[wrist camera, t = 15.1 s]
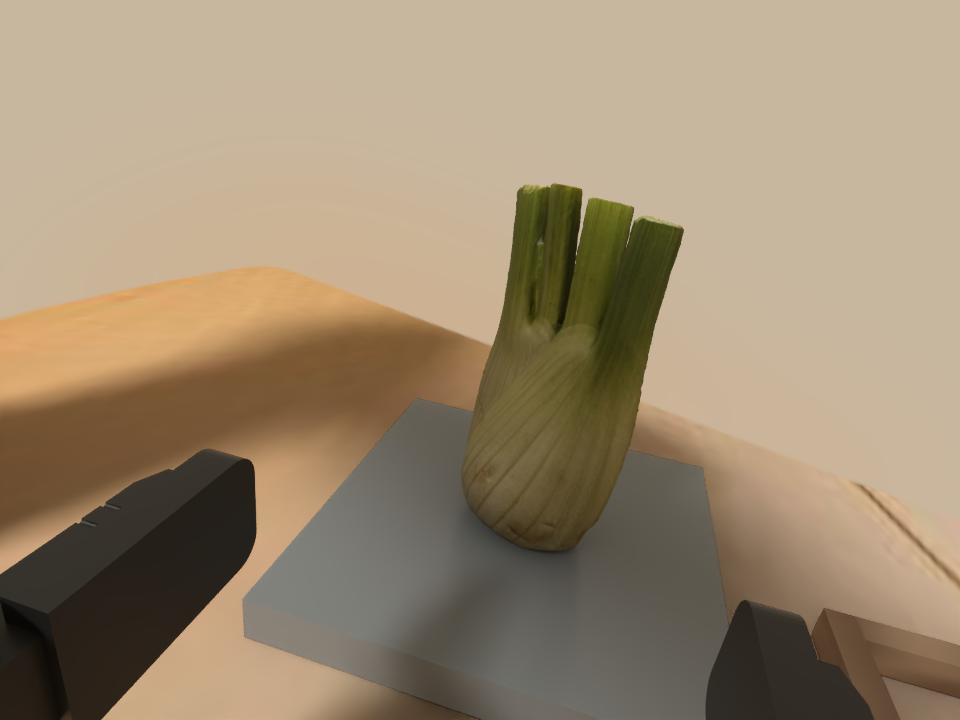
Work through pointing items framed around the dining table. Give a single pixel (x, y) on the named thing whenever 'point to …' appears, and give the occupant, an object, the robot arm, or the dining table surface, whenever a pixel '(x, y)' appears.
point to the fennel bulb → (565, 366)
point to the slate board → (502, 590)
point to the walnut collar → (885, 658)
